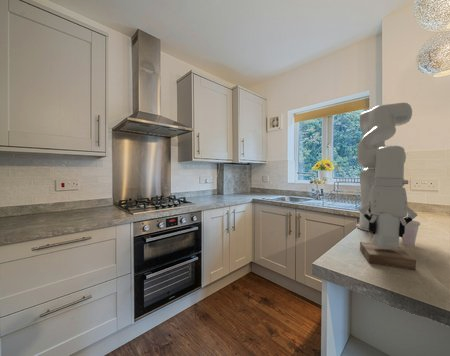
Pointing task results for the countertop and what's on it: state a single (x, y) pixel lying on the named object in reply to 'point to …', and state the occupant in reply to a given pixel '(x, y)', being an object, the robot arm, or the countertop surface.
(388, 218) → the skincare box
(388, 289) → the countertop surface
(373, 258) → the podium
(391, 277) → the countertop surface
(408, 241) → the smoothie
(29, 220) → the countertop surface
